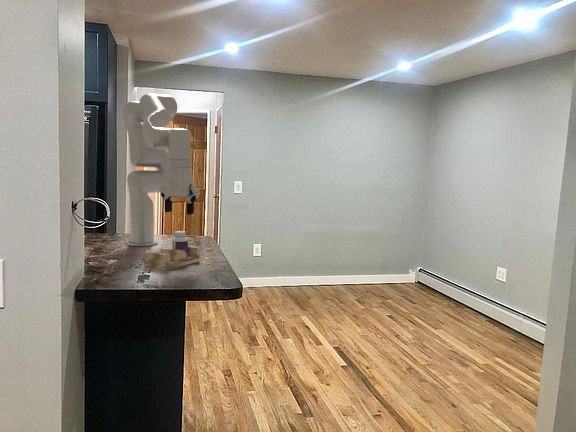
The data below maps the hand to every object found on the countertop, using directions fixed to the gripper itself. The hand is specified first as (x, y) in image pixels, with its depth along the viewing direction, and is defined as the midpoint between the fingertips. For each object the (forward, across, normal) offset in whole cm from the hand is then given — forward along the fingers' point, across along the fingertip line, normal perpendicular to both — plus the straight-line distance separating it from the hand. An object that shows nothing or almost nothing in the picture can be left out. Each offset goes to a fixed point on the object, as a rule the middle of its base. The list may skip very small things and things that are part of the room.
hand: (179, 213), depth 164 cm
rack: (+18, +1, -4) cm, 18 cm away
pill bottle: (+16, +1, 0) cm, 17 cm away
